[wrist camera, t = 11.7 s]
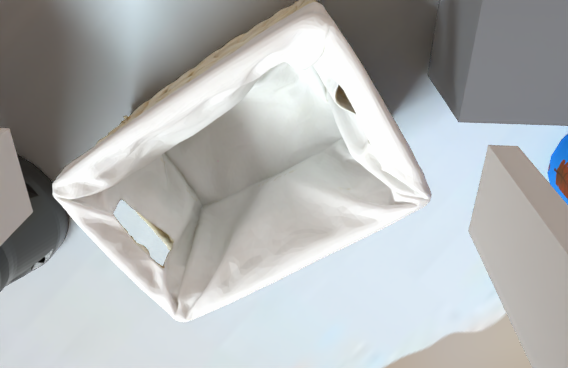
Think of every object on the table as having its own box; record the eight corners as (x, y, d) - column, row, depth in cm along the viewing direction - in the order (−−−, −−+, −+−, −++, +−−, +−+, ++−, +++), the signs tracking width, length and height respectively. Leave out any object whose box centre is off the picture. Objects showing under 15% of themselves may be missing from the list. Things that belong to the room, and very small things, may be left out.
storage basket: (321, -30, 40) (322, -3, 27) (409, 126, 46) (444, 208, 33) (110, 114, 48) (33, 189, 35) (210, 232, 54) (176, 333, 41)
